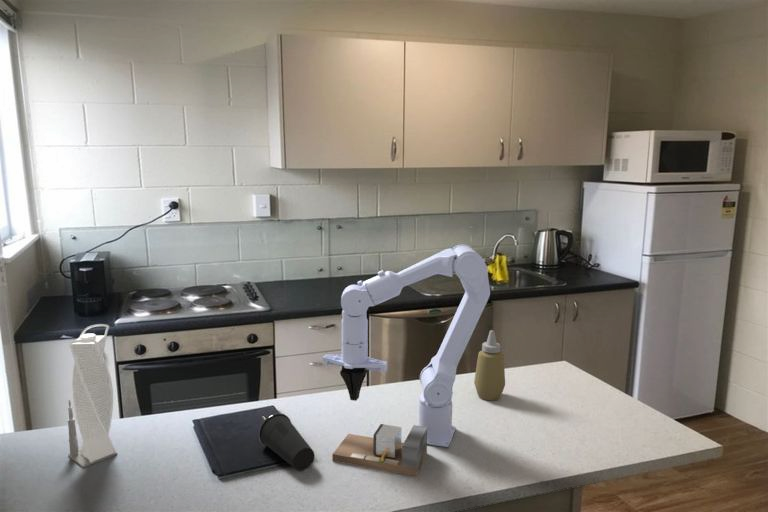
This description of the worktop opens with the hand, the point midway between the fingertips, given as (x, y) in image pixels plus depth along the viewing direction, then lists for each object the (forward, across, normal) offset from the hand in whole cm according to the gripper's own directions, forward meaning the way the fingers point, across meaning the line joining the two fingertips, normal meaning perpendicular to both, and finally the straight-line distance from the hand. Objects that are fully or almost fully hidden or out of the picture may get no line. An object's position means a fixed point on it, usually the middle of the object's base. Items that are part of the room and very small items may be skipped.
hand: (354, 398), depth 128 cm
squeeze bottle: (+10, +26, +32) cm, 42 cm away
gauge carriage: (+8, +10, -7) cm, 14 cm away
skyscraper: (+10, -49, -24) cm, 55 cm away
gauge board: (+9, +8, -6) cm, 14 cm away
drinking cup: (+7, -5, -16) cm, 18 cm away
